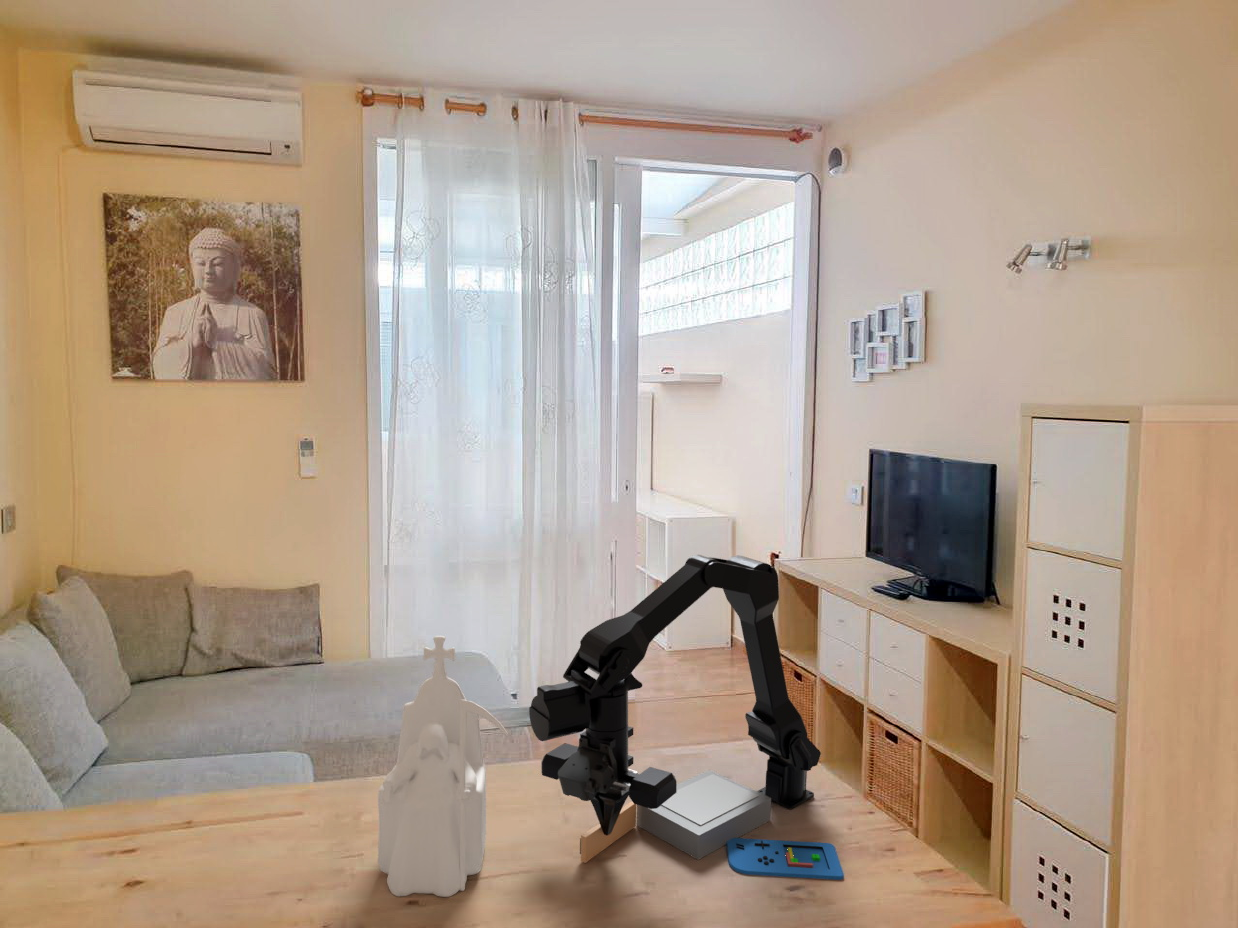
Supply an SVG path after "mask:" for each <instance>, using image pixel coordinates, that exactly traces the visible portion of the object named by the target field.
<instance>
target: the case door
mask: <svg viewBox="0 0 1238 928" xmlns="http://www.w3.org/2000/svg"><path fill="white" fill-rule="evenodd" d="M636 821H637V804H634V803H633V801H632V800H631V801H629V802H628V803H626V805H625V804H624V805H623V807H622V809H621V812H620V814H619V816H618V819H617V821H616V823H615V826H614V828H613V830H612V832H611V834H609V835H608V836H607V835H604V834H603V831H602V828H601V826H600V823H599V822H598V824H595V825H594V826H593V827H592V828H590V829H588V830H587V831H586V832H584V833H583V834H581V835H580V838H579V840H580V841H579V855H580V862H583V863H586V864H587V863H588V862H589V861H590V860H591V859H593V858H594V857H596V856H597V855H599V853H601V852H602V851H604V850H605V849H607V848H608V847H609V846H610V845H612V844H613V843H615V842H616V841H617V840H619V839H620V838H622V837H623V836H624V835H626V834H627V833H629V832H630V831H631V830H633V829H634V828H636V826H637V825H636Z"/></svg>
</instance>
